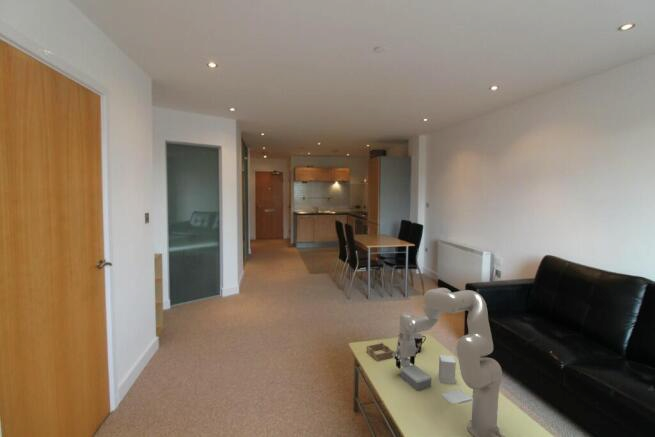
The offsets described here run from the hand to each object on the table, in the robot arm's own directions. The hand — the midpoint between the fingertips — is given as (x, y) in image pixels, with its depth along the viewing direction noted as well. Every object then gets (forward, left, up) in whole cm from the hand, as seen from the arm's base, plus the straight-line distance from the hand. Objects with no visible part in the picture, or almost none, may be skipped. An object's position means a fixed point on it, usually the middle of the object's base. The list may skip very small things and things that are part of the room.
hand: (405, 365), depth 173 cm
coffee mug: (+19, -26, -6) cm, 33 cm away
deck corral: (+24, 0, -6) cm, 25 cm away
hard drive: (-26, -10, -6) cm, 29 cm away
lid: (-7, 0, 0) cm, 7 cm away
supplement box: (-14, -17, -6) cm, 23 cm away
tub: (-9, 0, -6) cm, 10 cm away
